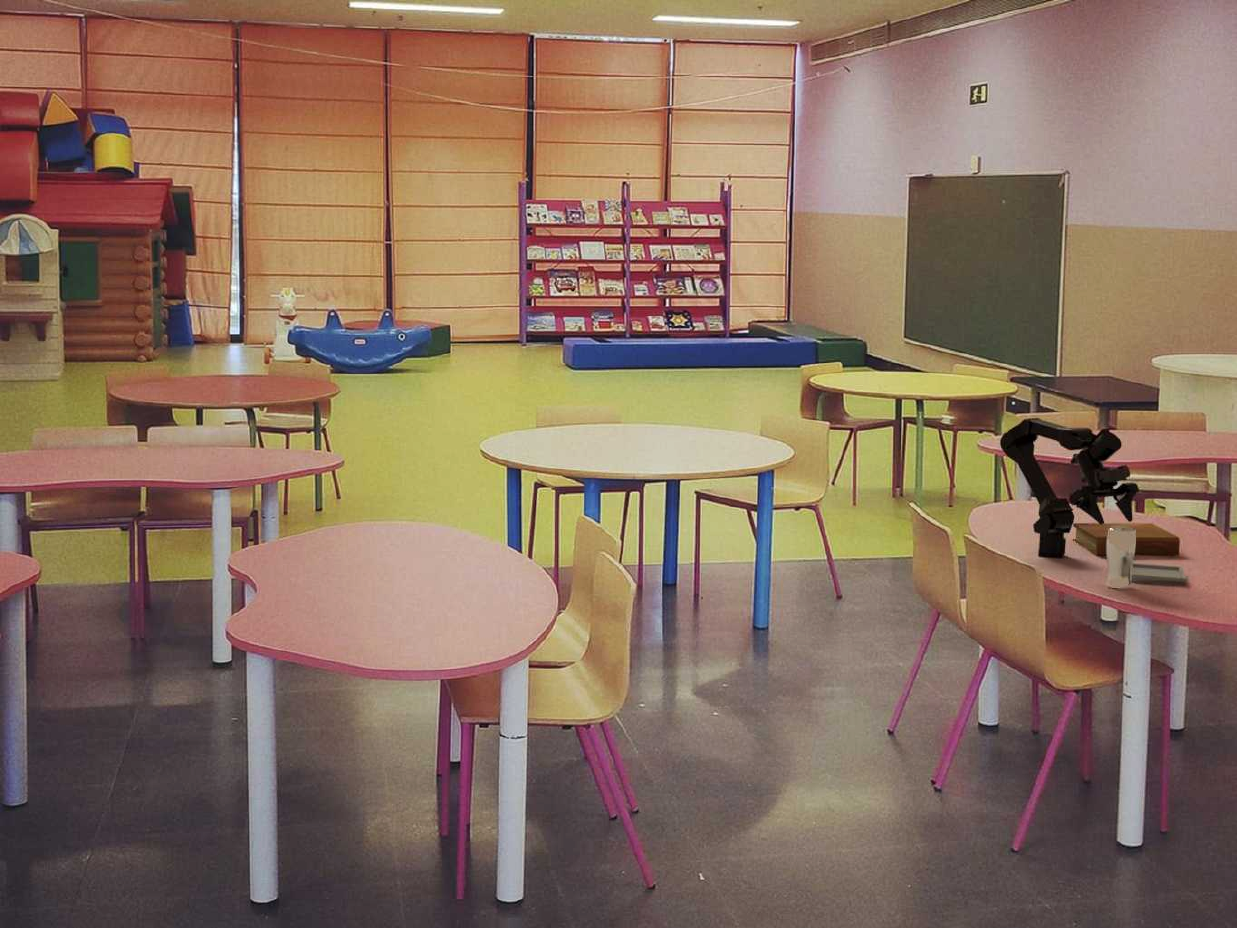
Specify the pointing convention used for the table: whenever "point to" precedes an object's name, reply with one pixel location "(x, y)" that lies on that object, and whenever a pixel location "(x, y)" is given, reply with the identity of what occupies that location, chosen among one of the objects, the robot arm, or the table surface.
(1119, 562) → the beer glass
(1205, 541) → the table surface
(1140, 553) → the diary
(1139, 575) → the grey tray
